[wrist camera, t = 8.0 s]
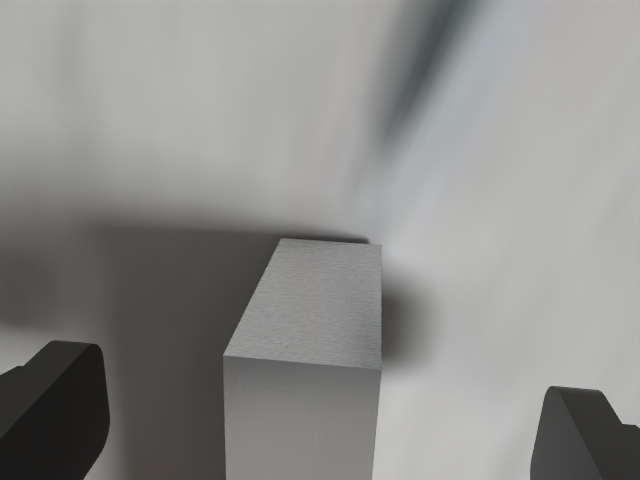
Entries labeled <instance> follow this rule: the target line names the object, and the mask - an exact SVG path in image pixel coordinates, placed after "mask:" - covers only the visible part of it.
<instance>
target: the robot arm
mask: <svg viewBox="0 0 640 480" xmlns="http://www.w3.org/2000/svg"><path fill="white" fill-rule="evenodd" d="M109 425H110V414H109V405H108V396H107V387H106V378H105V369H104V360H103V354H102V350H101V348H100V347H99V346H98V345H97V344H91V343H80V342H69V341H57V340H55V341H51V342H49V343H48V344H47V345H46V346H45V347H44V348H42V349H41V350H40V351H39V352H38V353H37V354H36V355H35V356H34V357H33V358H32V359H30V360H29V361H28V362H27V363H26V364H25V365H24V366H17V367H15V368H13V369H11V370H9V371H7V372H5V373H3V374H2V375H0V480H83V479H84V477H85V476H86V474H87V473H88V471H89V470H90V468H91V467H92V466H93V464H94V463H95V461H96V460H97V458H98V457H99V455H100V453H101V452H102V450H103V448H104V445H105V443H106V440H107V436H108V432H109ZM530 480H640V428H638V427H637V426H636V425H628V424H622V423H621V421H620V420H619V418H618V416H617V415H616V413H615V412H614V410H613V408H612V407H611V405H610V404H609V402H608V400H607V399H606V397H605V396H604V394H603V393H602V392H601V391H599V390H591V389H580V388H569V387H558V386H551V387H549V388H548V390H547V392H546V394H545V398H544V402H543V407H542V412H541V416H540V421H539V426H538V431H537V435H536V440H535V445H534V450H533V454H532V460H531V468H530Z"/></svg>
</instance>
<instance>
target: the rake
mask: <svg viewBox="0 0 640 480" xmlns="http://www.w3.org/2000/svg"><path fill="white" fill-rule="evenodd" d="M381 370H382V364H381V245H372V244H358V243H344V242H330V241H316V240H302V239H288V238H281V239H280V241H279V243H278V246H277V248H276V250H275V252H274V254H273V256H272V258H271V260H270V262H269V264H268V266H267V268H266V270H265V272H264V274H263V276H262V278H261V280H260V282H259V284H258V286H257V288H256V290H255V292H254V294H253V296H252V298H251V300H250V302H249V304H248V306H247V308H246V310H245V312H244V314H243V316H242V318H241V320H240V322H239V324H238V326H237V328H236V330H235V332H234V334H233V336H232V338H231V340H230V342H229V344H228V346H227V348H226V350H225V352H224V354H223V379H224V418H225V457H226V480H372V471H373V459H374V448H375V437H376V426H377V415H378V403H379V392H380V381H381Z"/></svg>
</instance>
